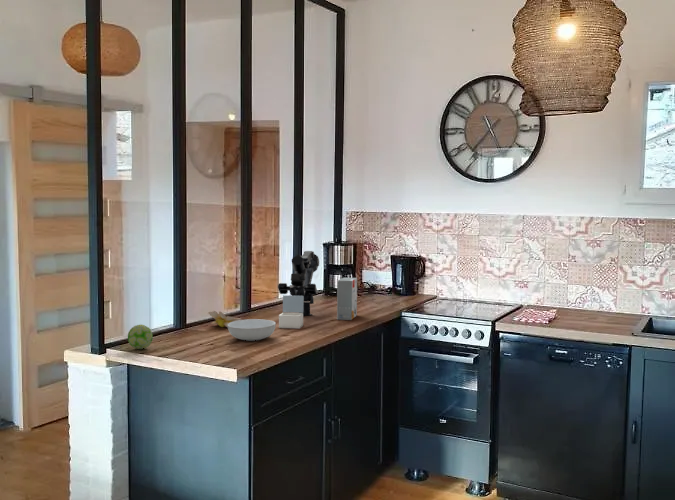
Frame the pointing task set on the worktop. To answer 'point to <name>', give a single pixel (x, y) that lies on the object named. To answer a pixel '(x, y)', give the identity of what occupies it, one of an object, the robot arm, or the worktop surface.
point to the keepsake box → (291, 320)
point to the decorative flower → (222, 318)
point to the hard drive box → (347, 298)
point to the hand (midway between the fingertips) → (295, 302)
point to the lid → (293, 303)
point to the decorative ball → (140, 336)
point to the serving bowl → (251, 329)
